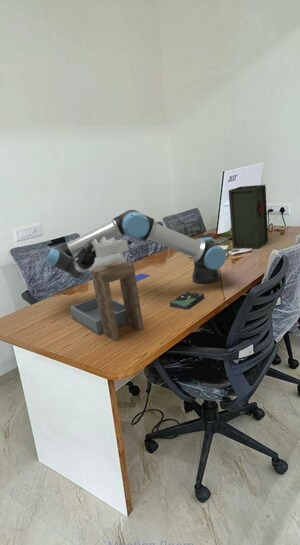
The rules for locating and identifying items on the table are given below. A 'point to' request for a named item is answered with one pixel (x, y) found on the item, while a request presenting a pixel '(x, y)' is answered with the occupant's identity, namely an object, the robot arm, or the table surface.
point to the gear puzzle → (217, 236)
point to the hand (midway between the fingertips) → (100, 240)
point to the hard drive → (141, 277)
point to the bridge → (129, 294)
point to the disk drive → (186, 300)
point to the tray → (96, 314)
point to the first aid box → (248, 216)
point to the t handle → (110, 248)
